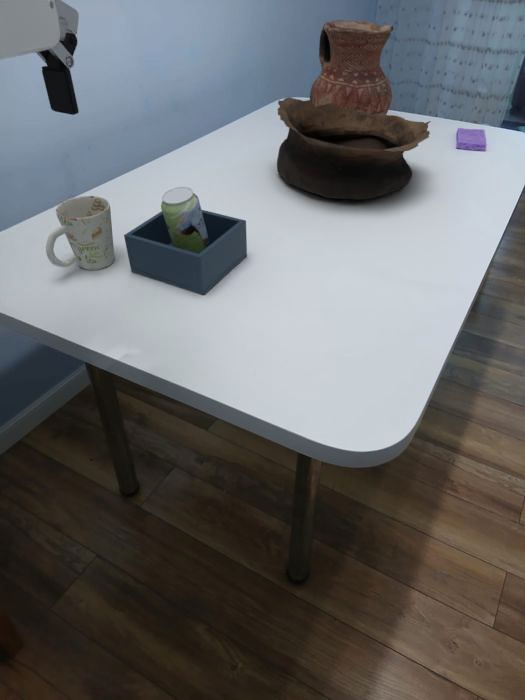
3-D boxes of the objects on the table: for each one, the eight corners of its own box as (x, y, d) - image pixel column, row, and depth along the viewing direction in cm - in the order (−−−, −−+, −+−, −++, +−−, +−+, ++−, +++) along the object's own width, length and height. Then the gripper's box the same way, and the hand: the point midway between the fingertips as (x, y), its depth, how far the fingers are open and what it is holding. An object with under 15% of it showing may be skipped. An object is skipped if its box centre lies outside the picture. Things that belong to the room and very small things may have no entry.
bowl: (308, 151, 130) (317, 88, 121) (431, 183, 118) (451, 116, 109) (237, 185, 106) (241, 109, 97) (383, 229, 94) (404, 148, 85)
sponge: (456, 149, 127) (458, 141, 126) (456, 133, 136) (457, 126, 135) (485, 151, 125) (487, 144, 124) (482, 136, 135) (484, 128, 133)
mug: (131, 257, 86) (120, 203, 80) (75, 291, 78) (58, 234, 72) (97, 244, 90) (84, 191, 83) (41, 276, 82) (21, 220, 75)
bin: (131, 272, 83) (123, 235, 78) (179, 237, 92) (174, 202, 87) (204, 295, 77) (200, 257, 73) (247, 256, 86) (246, 220, 82)
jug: (394, 122, 144) (411, 20, 127) (376, 145, 129) (392, 32, 113) (322, 113, 151) (329, 15, 134) (297, 134, 136) (301, 27, 120)
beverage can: (218, 257, 84) (214, 190, 77) (184, 274, 81) (176, 204, 73) (195, 245, 88) (188, 178, 80) (162, 260, 84) (151, 192, 76)
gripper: (17, -114, 43) (65, 99, 54) (-201, -134, 31) (-83, 144, 42) (82, -116, 41) (118, 109, 52) (-129, -138, 29) (-23, 159, 40)
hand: (27, 124), depth 47 cm, fingers open, 9 cm apart
